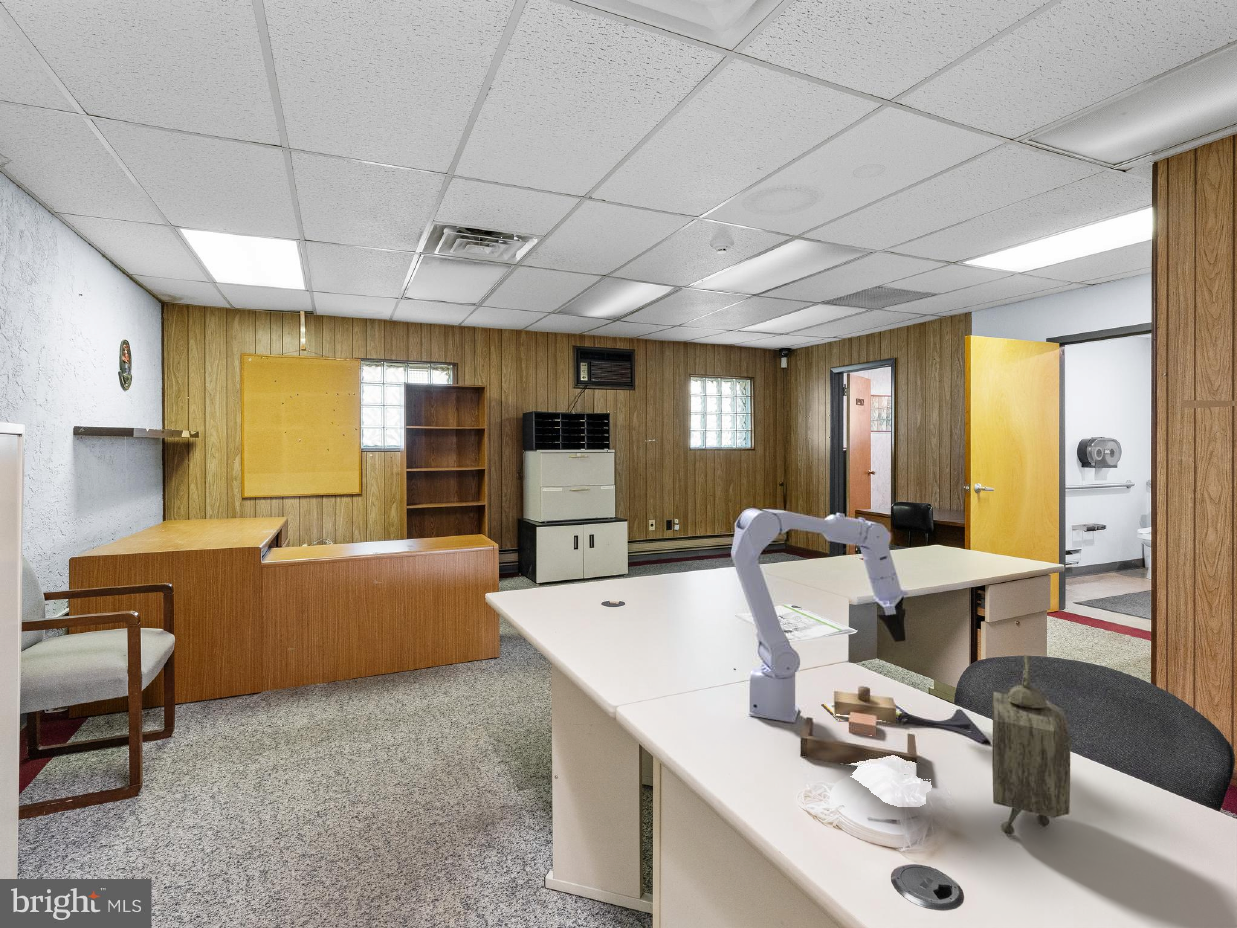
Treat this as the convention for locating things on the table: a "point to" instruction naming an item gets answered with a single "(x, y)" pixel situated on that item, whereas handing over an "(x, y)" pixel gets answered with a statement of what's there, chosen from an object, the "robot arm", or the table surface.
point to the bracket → (949, 725)
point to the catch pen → (847, 748)
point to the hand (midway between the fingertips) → (899, 633)
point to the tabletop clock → (1030, 754)
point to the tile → (862, 724)
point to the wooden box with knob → (865, 704)
